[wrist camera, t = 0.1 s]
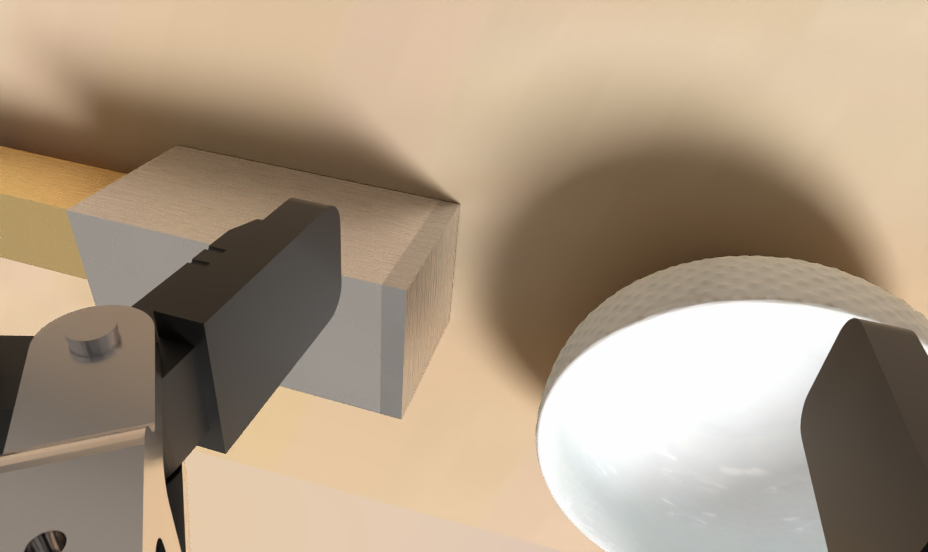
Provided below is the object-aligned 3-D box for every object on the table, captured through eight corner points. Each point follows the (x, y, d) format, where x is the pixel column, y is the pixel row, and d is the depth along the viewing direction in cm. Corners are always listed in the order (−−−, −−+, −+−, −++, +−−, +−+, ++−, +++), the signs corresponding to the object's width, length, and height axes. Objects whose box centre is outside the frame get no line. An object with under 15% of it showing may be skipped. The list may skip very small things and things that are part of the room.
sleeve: (176, 145, 32) (66, 209, 27) (459, 204, 30) (406, 290, 24) (197, 259, 36) (105, 338, 31) (449, 321, 34) (401, 419, 28)
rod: (-31, 137, 34) (-106, 168, 31) (389, 230, 30) (353, 276, 27) (-5, 205, 37) (-72, 239, 33) (387, 299, 33) (355, 349, 29)
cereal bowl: (578, 178, 28) (552, 262, 22) (1021, 236, 24) (1126, 354, 18) (544, 446, 37) (520, 553, 31) (857, 516, 34) (894, 651, 28)
